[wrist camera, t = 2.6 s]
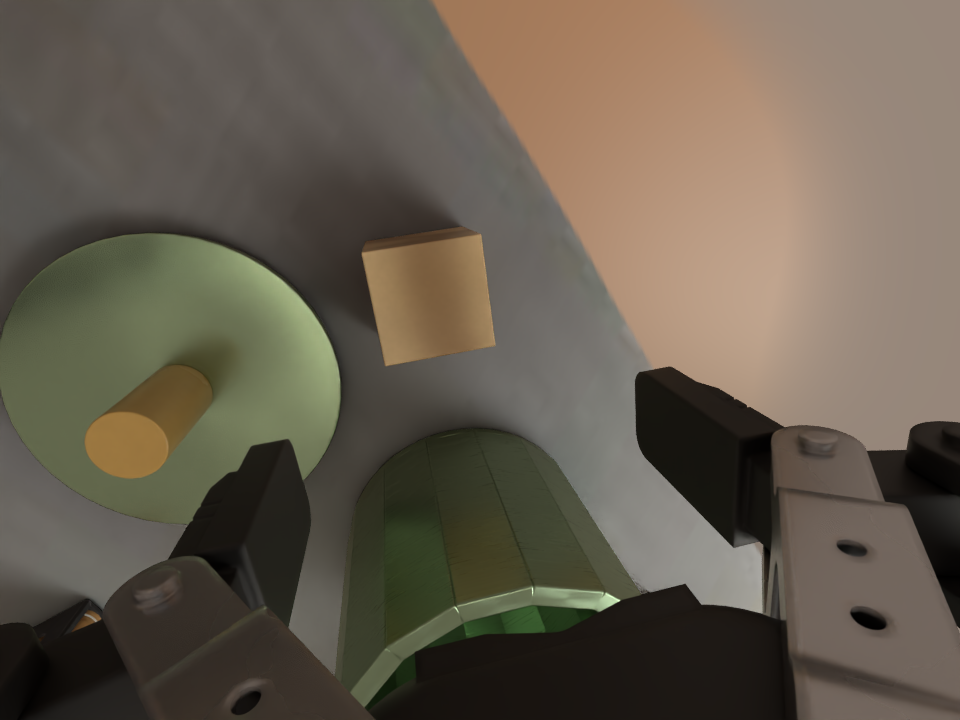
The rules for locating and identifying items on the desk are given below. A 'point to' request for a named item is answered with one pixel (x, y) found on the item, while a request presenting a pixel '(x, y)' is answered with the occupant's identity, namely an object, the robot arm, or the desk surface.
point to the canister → (465, 555)
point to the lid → (164, 370)
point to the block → (429, 294)
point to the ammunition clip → (68, 621)
